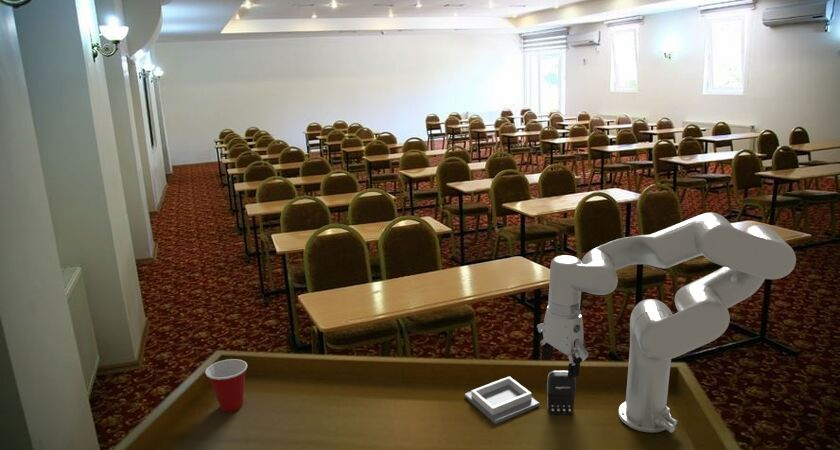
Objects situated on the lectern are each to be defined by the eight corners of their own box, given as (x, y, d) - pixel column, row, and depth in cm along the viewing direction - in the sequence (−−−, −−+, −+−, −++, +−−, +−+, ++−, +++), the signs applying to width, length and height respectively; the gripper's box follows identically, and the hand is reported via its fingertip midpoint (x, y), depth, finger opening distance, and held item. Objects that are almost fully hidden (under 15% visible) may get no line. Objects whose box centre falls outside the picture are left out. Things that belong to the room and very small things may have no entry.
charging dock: (539, 406, 163) (539, 396, 162) (495, 424, 156) (495, 414, 155) (506, 381, 174) (506, 371, 173) (464, 396, 168) (464, 387, 167)
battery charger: (547, 416, 159) (549, 377, 155) (546, 407, 162) (547, 369, 158) (575, 416, 158) (577, 377, 154) (573, 407, 162) (575, 369, 158)
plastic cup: (258, 394, 173) (253, 356, 169) (244, 418, 163) (238, 378, 159) (221, 393, 174) (214, 356, 170) (204, 417, 164) (197, 377, 160)
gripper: (601, 316, 145) (595, 379, 151) (552, 289, 159) (548, 348, 165) (577, 324, 142) (572, 389, 147) (528, 296, 156) (526, 356, 161)
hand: (559, 367), depth 156 cm, fingers open, 9 cm apart
